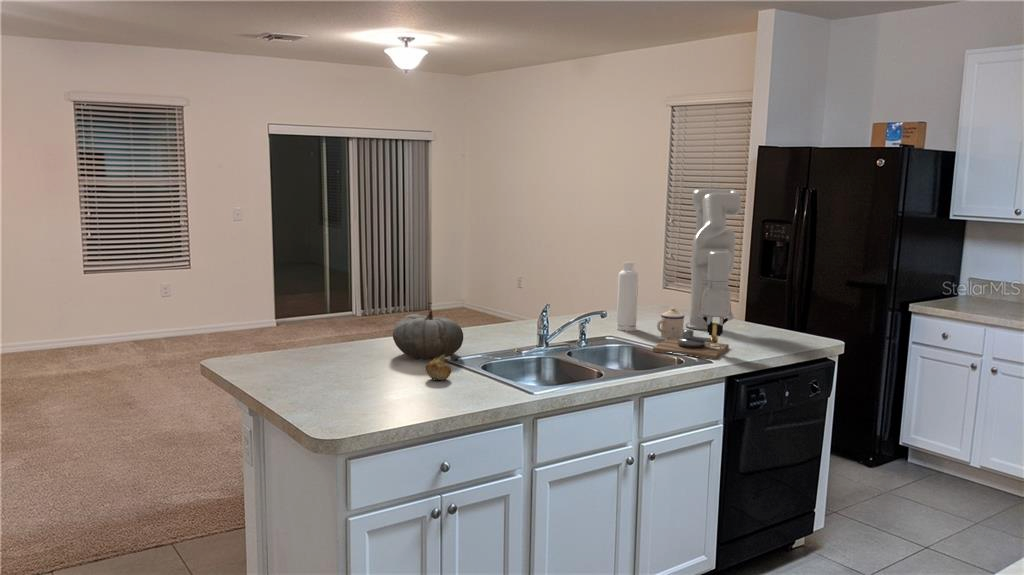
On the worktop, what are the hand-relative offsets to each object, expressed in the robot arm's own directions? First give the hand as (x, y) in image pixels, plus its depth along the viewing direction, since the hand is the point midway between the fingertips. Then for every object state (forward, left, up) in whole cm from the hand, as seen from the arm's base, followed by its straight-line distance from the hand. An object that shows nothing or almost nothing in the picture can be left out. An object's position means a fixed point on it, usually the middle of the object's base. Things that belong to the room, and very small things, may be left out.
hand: (714, 334), depth 289 cm
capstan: (0, -6, -5) cm, 8 cm away
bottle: (-23, -42, -7) cm, 48 cm away
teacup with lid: (-17, -22, -7) cm, 29 cm away
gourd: (+58, -87, -7) cm, 105 cm away
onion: (+82, -67, -7) cm, 106 cm away
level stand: (0, -8, -7) cm, 11 cm away
